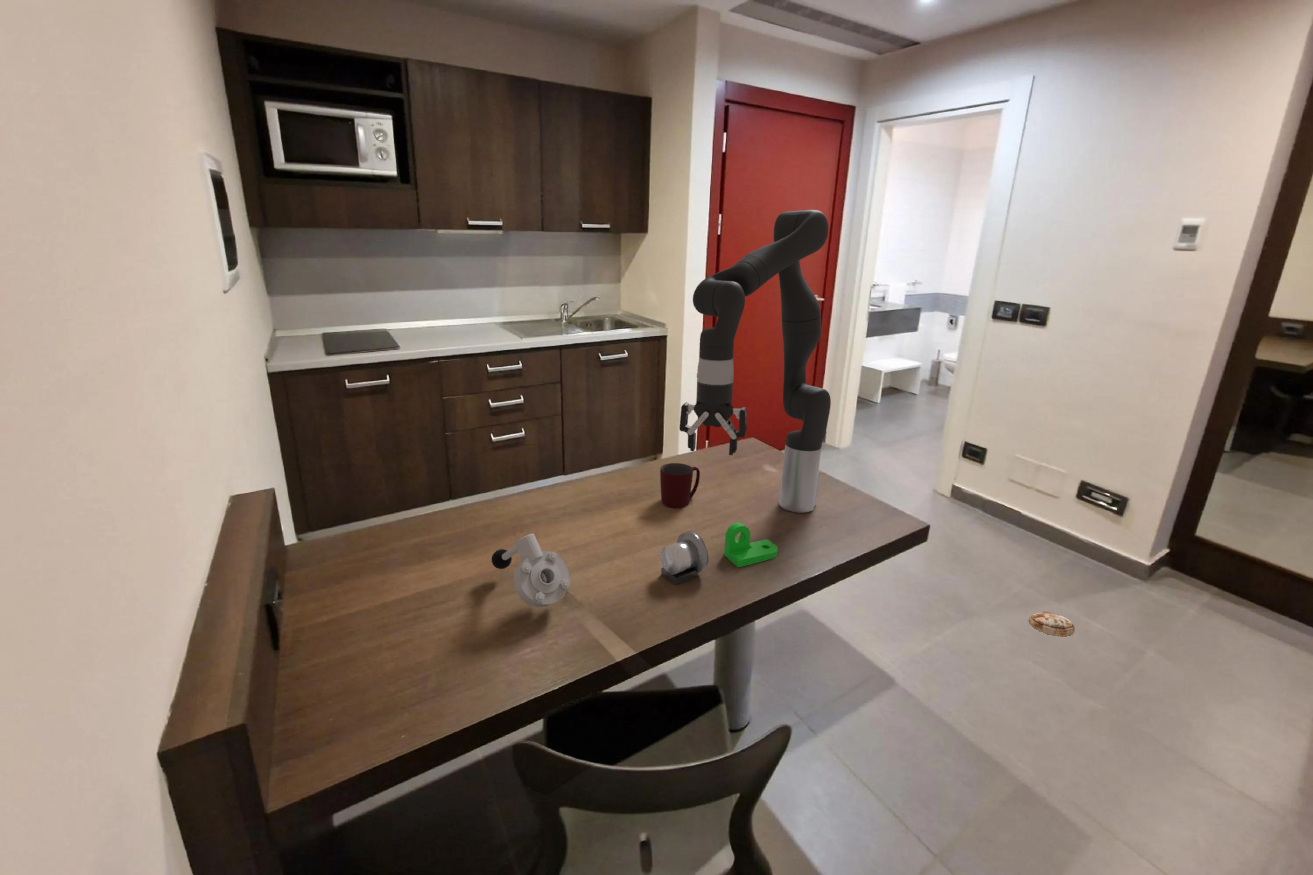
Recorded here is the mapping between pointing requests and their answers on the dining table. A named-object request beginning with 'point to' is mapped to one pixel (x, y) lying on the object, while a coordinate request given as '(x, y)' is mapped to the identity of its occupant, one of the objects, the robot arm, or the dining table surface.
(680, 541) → the grey mushroom knob
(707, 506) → the dining table surface
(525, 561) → the mechanical valve
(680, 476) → the mug
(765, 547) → the mechanical part
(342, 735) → the dining table surface
